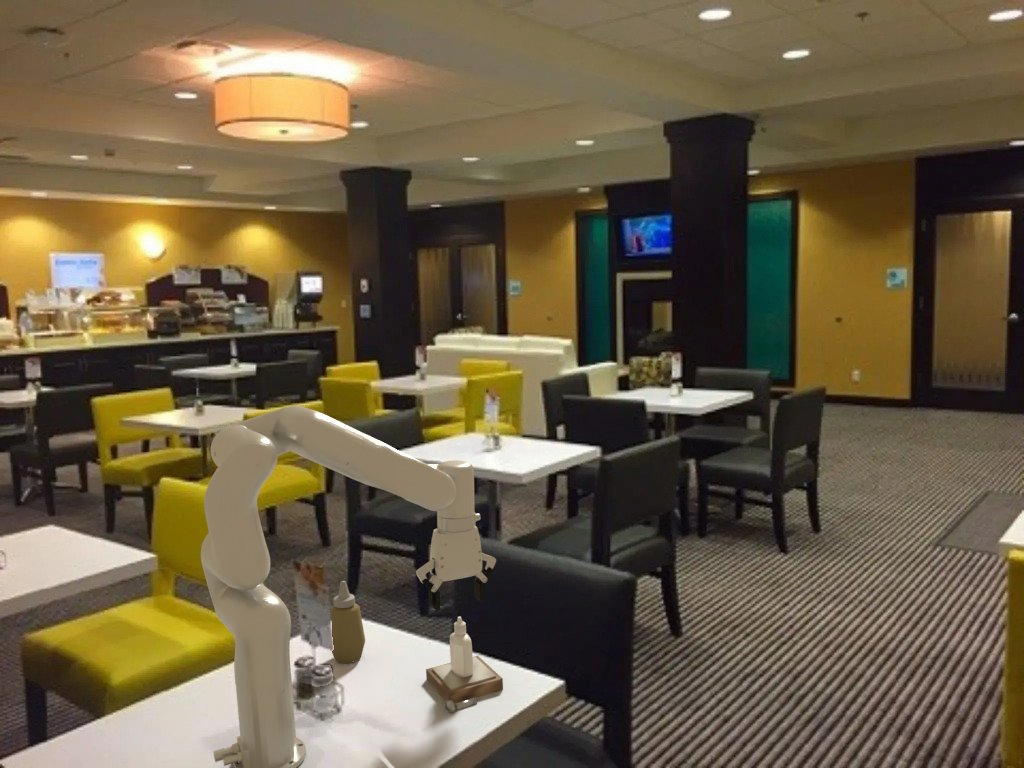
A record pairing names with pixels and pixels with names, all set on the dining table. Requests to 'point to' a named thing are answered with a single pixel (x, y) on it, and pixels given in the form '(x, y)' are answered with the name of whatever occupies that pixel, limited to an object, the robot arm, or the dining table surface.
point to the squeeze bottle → (346, 627)
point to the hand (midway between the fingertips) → (457, 604)
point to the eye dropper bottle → (461, 650)
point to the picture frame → (464, 681)
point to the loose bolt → (459, 705)
